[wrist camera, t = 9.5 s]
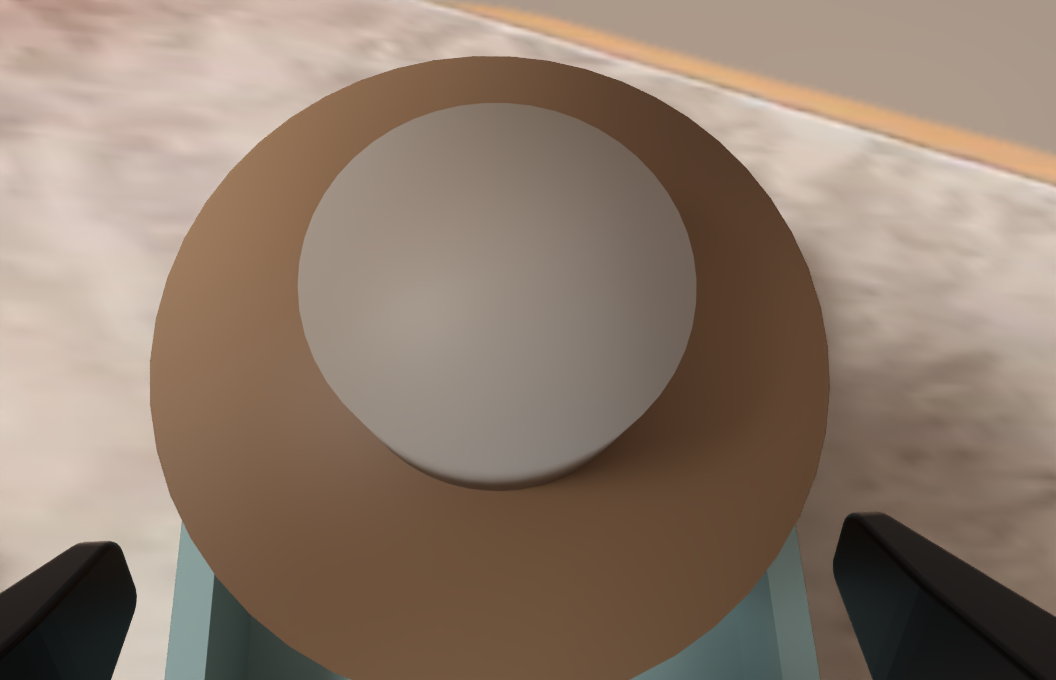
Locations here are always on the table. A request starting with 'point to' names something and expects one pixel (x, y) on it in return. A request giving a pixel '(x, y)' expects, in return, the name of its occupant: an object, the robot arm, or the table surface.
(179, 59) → the table surface
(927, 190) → the table surface
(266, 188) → the pepper mill
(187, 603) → the tray
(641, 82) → the table surface
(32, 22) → the table surface
